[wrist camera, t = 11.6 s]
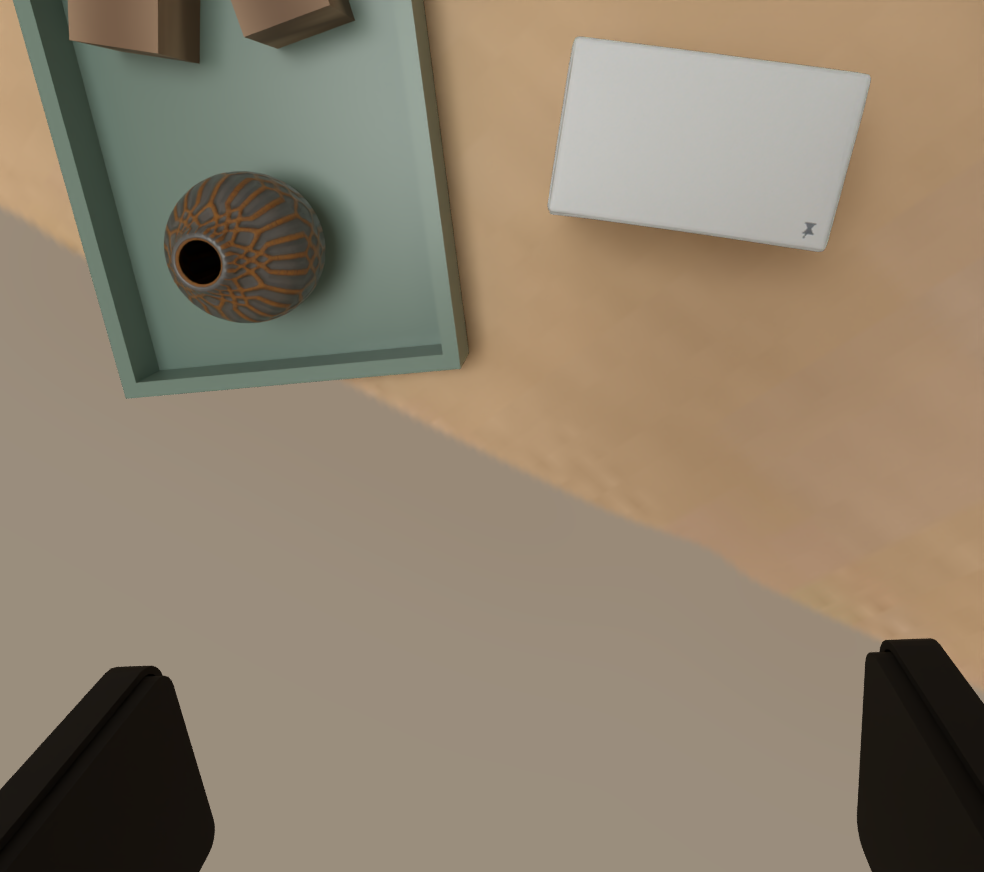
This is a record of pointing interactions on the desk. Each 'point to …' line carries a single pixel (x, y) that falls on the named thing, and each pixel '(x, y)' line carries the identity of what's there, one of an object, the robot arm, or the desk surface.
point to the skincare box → (705, 142)
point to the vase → (244, 247)
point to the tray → (272, 151)
